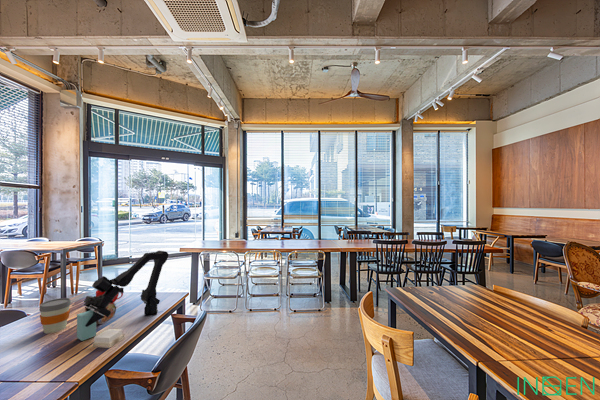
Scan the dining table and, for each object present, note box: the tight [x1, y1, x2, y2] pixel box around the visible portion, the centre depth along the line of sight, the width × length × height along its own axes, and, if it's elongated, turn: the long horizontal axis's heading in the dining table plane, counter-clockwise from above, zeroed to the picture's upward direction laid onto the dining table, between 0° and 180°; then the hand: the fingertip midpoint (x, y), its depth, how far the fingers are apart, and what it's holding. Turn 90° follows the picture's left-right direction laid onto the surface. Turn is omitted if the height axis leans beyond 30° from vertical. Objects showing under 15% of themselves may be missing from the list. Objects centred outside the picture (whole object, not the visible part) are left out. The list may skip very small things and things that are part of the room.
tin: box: [95, 303, 117, 325], centre depth 150 cm, size 15×3×8 cm, turn 2°
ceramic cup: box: [95, 289, 124, 304], centre depth 175 cm, size 13×17×10 cm
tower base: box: [92, 333, 125, 349], centre depth 127 cm, size 9×9×2 cm
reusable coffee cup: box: [38, 297, 72, 334], centre depth 140 cm, size 13×13×15 cm
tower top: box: [93, 328, 123, 343], centre depth 127 cm, size 8×8×2 cm
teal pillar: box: [76, 310, 97, 341], centre depth 131 cm, size 6×6×12 cm
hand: (83, 324), depth 130 cm, fingers closed on teal pillar, 6 cm apart
